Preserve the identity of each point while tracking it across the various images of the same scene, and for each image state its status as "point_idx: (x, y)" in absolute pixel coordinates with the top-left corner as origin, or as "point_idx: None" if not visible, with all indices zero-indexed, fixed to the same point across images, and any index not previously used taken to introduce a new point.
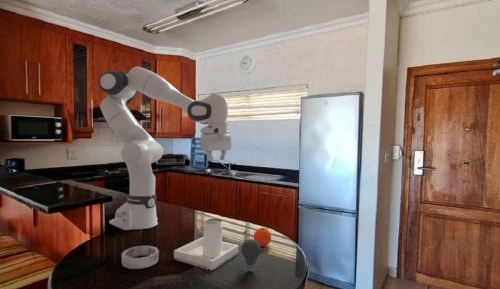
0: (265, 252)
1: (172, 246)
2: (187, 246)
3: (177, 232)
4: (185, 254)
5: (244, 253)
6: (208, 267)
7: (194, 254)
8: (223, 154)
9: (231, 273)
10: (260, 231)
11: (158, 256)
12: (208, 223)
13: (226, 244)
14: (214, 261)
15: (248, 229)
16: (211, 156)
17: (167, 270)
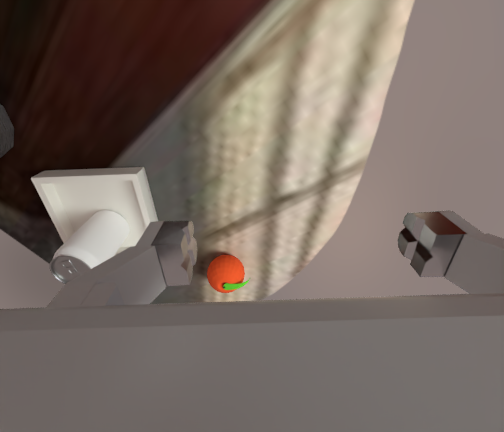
0: (203, 276)
1: (75, 113)
2: (72, 181)
3: (150, 30)
4: (46, 206)
5: None
6: None
7: (58, 222)
8: (478, 282)
9: None
10: (213, 284)
11: (6, 149)
12: (52, 270)
13: None
14: None
15: (307, 195)
16: (151, 292)
17: (12, 194)
